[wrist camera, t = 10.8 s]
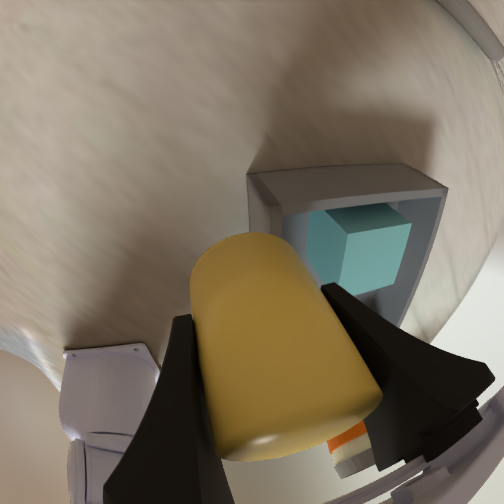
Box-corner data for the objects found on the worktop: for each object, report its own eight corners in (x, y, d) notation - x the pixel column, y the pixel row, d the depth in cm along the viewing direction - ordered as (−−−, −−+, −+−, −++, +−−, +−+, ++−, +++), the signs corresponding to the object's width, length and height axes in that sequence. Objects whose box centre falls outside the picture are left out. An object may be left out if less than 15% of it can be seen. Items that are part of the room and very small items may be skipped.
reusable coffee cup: (357, 403, 49) (384, 459, 37) (304, 420, 46) (329, 484, 34) (382, 372, 42) (419, 437, 30) (322, 392, 39) (357, 470, 27)
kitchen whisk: (358, -82, 6) (408, -104, 1) (525, 108, 19) (558, 124, 14) (341, -46, 9) (398, -71, 4) (517, 141, 21) (550, 160, 16)
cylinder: (202, 331, 13) (231, 468, 8) (176, 247, 10) (193, 432, 5) (299, 307, 14) (360, 428, 8) (301, 221, 11) (406, 362, 5)
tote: (368, 312, 29) (390, 344, 25) (256, 343, 27) (270, 385, 23) (405, 163, 19) (448, 188, 15) (246, 174, 17) (269, 206, 13)
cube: (306, 257, 21) (335, 300, 17) (310, 197, 18) (347, 234, 14) (359, 246, 22) (393, 283, 18) (369, 191, 19) (411, 223, 15)
